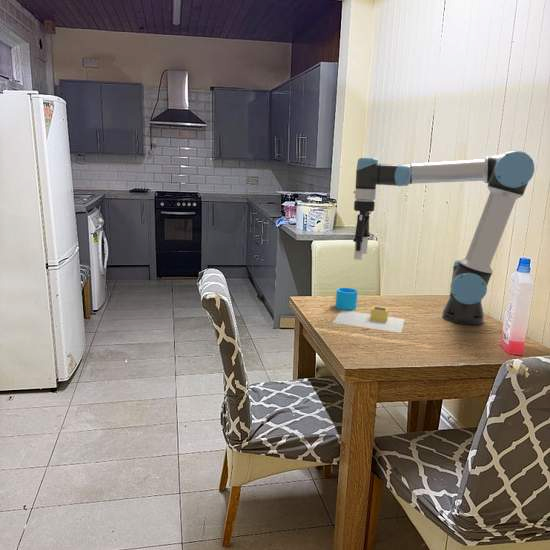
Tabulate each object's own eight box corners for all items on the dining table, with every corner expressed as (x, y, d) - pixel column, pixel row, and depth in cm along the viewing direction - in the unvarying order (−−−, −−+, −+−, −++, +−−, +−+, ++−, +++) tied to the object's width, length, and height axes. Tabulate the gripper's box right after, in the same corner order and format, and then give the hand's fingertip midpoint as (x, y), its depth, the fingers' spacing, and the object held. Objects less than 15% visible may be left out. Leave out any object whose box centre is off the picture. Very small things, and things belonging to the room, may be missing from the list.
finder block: (388, 317, 191) (389, 306, 190) (386, 322, 185) (387, 310, 184) (372, 315, 193) (373, 304, 192) (370, 319, 187) (371, 308, 186)
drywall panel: (412, 323, 189) (413, 320, 189) (409, 337, 174) (409, 334, 173) (333, 312, 198) (334, 309, 198) (324, 324, 182) (324, 321, 182)
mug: (351, 314, 197) (353, 294, 195) (332, 310, 200) (333, 290, 198) (361, 307, 207) (363, 288, 205) (343, 303, 211) (344, 284, 209)
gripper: (359, 197, 202) (356, 250, 206) (348, 201, 178) (345, 261, 183) (378, 198, 199) (374, 252, 204) (370, 203, 176) (365, 263, 181)
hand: (360, 256), depth 193 cm, fingers open, 13 cm apart
